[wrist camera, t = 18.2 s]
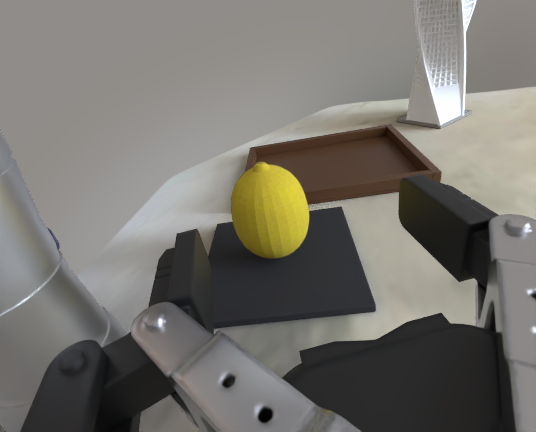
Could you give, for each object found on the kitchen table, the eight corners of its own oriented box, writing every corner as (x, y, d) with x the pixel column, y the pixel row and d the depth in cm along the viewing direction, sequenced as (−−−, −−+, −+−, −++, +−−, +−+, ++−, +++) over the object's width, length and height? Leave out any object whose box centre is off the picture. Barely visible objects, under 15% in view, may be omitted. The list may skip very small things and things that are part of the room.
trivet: (191, 330, 21) (188, 324, 21) (218, 228, 31) (217, 223, 31) (375, 312, 20) (375, 305, 19) (341, 211, 30) (341, 206, 30)
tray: (242, 213, 33) (239, 201, 32) (252, 157, 46) (249, 147, 45) (440, 185, 31) (441, 171, 30) (390, 134, 44) (391, 124, 43)
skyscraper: (481, 114, 44) (534, -187, 30) (445, 133, 41) (484, -193, 26) (426, 108, 51) (447, -142, 36) (391, 123, 48) (398, -143, 33)
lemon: (312, 280, 22) (298, 177, 18) (237, 281, 23) (207, 186, 19) (315, 233, 27) (304, 143, 23) (252, 236, 28) (230, 151, 24)
